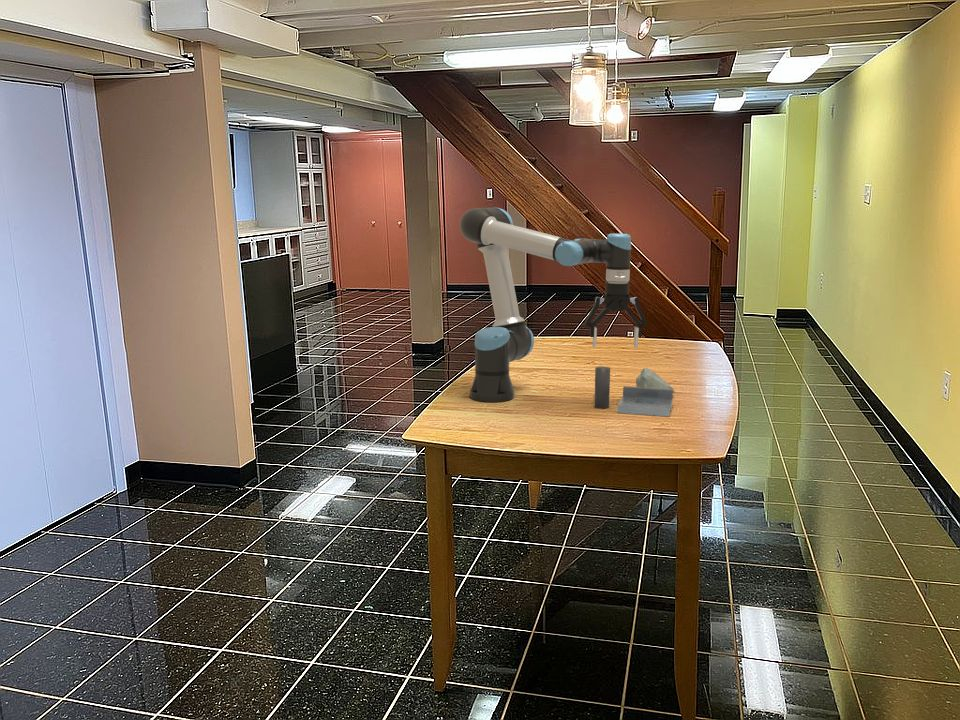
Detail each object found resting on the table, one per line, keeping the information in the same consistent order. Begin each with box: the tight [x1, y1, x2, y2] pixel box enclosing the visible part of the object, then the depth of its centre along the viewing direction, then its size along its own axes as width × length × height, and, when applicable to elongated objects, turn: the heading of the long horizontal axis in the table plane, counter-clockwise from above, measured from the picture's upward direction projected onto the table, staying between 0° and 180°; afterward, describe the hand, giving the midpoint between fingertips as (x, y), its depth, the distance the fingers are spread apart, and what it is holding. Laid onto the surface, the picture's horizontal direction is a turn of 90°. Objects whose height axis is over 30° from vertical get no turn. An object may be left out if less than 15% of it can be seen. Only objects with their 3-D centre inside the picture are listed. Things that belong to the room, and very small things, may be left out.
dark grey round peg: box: [593, 365, 611, 410], centre depth 264 cm, size 5×5×13 cm
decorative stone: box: [635, 367, 675, 394], centre depth 279 cm, size 13×11×10 cm
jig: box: [617, 385, 674, 418], centre depth 262 cm, size 16×14×6 cm
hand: (615, 347), depth 265 cm, fingers open, 13 cm apart
